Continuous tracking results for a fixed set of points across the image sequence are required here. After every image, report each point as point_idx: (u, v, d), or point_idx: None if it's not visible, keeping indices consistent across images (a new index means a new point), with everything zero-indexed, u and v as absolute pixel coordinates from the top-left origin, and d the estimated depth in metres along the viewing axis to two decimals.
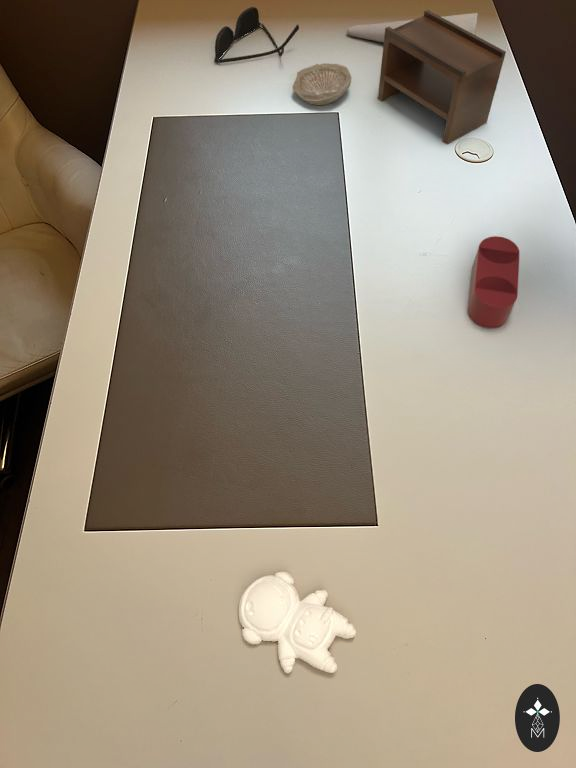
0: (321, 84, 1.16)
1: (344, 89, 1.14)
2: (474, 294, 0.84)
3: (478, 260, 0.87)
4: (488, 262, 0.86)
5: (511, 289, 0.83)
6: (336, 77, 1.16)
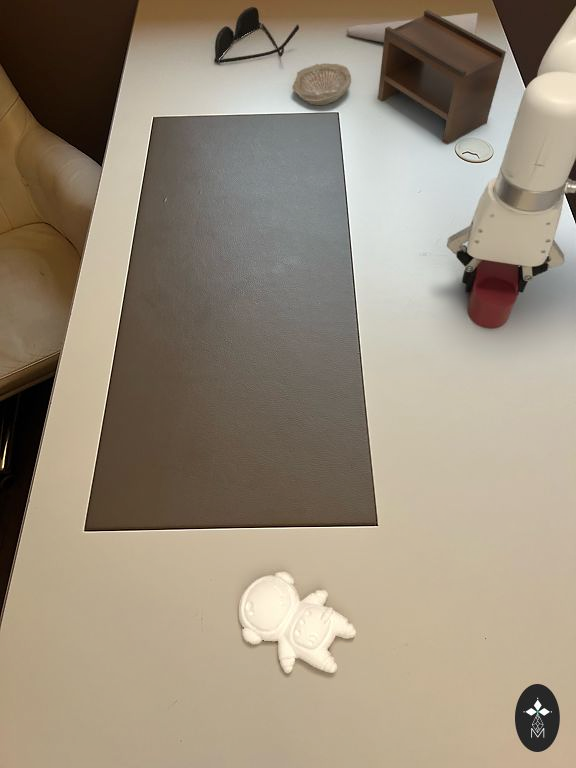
0: (321, 84, 1.16)
1: (344, 89, 1.14)
2: (474, 294, 0.84)
3: None
4: (488, 262, 0.86)
5: (511, 289, 0.83)
6: (336, 77, 1.16)
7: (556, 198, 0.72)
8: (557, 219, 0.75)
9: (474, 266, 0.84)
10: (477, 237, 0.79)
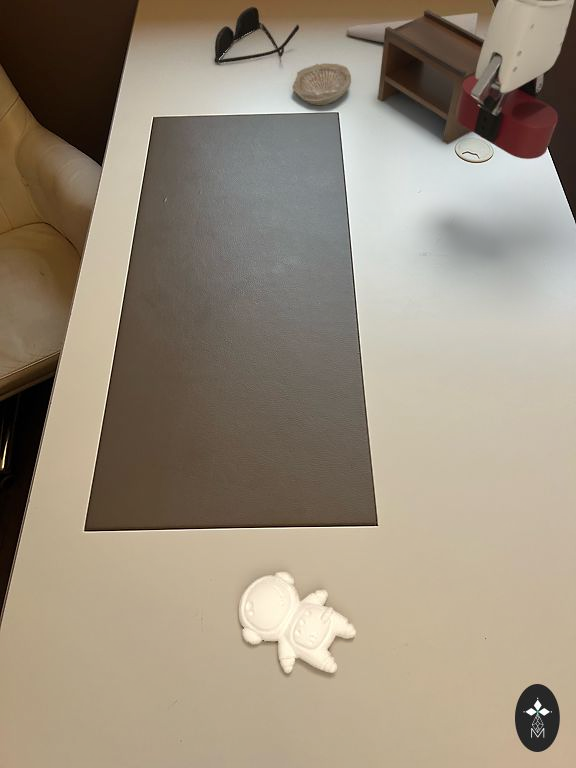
0: (321, 84, 1.16)
1: (344, 89, 1.14)
2: (524, 128, 0.76)
3: None
4: (494, 99, 0.78)
5: (540, 105, 0.78)
6: (336, 77, 1.16)
7: None
8: None
9: (502, 105, 0.76)
10: (516, 63, 0.70)
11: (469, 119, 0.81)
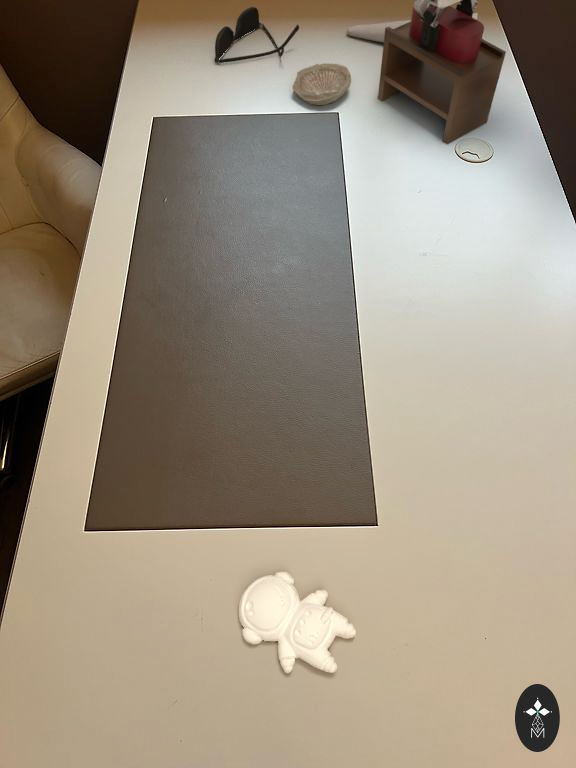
0: (321, 84, 1.16)
1: (344, 89, 1.14)
2: (457, 36, 0.98)
3: None
4: None
5: (471, 20, 1.00)
6: (336, 77, 1.16)
7: None
8: None
9: (438, 18, 0.98)
10: None
11: (418, 33, 1.04)
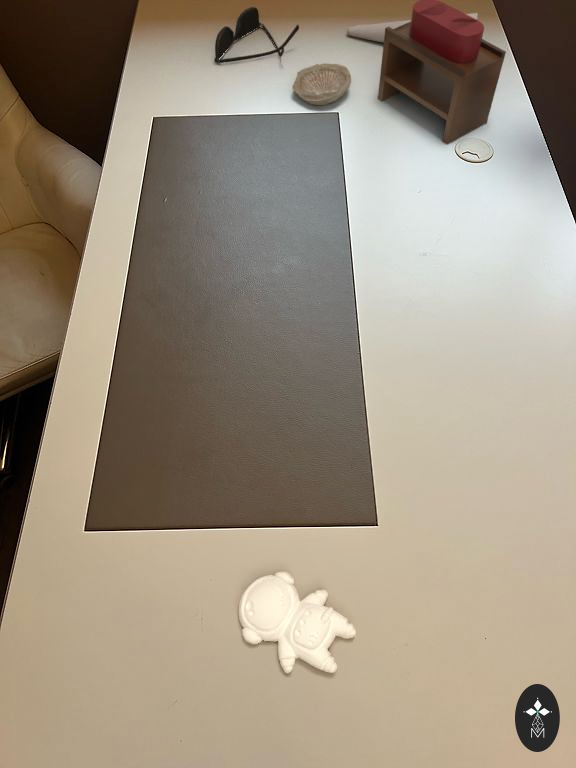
0: (321, 84, 1.16)
1: (344, 89, 1.14)
2: (457, 36, 0.98)
3: (430, 18, 1.00)
4: (436, 16, 1.01)
5: (471, 20, 1.00)
6: (336, 77, 1.16)
7: None
8: None
9: None
10: None
11: (418, 33, 1.04)
